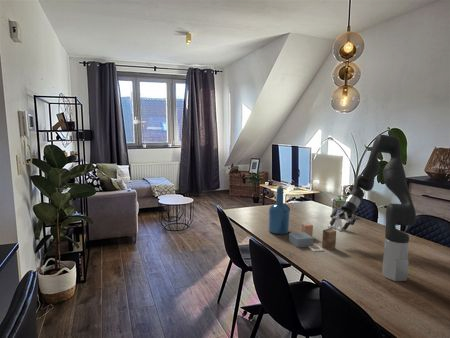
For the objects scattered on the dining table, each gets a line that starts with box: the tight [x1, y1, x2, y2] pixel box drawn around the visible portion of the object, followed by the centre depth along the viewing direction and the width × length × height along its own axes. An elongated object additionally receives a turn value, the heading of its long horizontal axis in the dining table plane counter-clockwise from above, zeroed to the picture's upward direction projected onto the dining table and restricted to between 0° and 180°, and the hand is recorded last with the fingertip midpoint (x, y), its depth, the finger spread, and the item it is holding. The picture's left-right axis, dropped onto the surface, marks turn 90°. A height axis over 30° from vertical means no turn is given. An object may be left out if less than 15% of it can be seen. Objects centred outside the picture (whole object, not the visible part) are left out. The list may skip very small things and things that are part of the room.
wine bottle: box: [267, 184, 291, 235], centre depth 192 cm, size 14×13×30 cm
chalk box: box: [331, 194, 346, 214], centre depth 235 cm, size 9×9×15 cm
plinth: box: [288, 231, 315, 248], centre depth 174 cm, size 10×10×5 cm
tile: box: [308, 245, 324, 253], centre depth 166 cm, size 6×6×1 cm
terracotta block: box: [300, 222, 314, 237], centre depth 185 cm, size 5×5×8 cm
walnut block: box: [321, 228, 337, 251], centre depth 168 cm, size 5×5×10 cm
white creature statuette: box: [327, 216, 344, 232], centre depth 201 cm, size 10×9×12 cm
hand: (337, 227), depth 171 cm, fingers open, 8 cm apart
